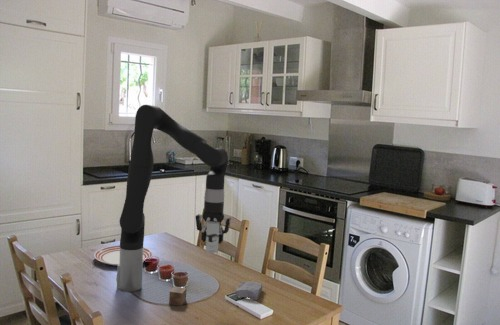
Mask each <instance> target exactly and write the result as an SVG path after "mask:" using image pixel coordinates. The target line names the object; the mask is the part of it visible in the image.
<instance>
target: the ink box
mask: <svg viewBox="0 0 500 325" xmlns="http://www.w3.org/2000/svg"><path fill="white" fill-rule="evenodd" d="M208 253H209V254H219V222H214V221H207V229H206V241H205V254H208Z"/></svg>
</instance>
